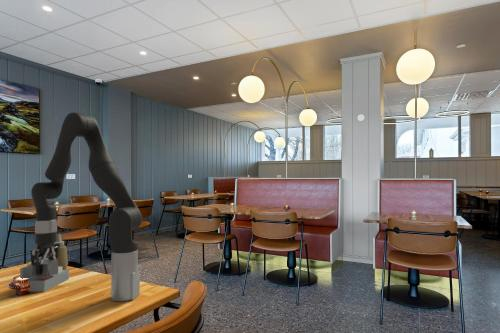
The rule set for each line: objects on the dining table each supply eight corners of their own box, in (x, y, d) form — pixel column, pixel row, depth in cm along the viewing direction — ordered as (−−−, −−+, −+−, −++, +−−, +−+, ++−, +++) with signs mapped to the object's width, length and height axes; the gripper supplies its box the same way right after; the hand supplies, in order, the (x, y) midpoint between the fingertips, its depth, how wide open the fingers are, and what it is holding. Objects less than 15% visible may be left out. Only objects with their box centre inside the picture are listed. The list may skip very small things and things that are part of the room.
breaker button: (51, 283, 129) (51, 273, 129) (46, 286, 125) (46, 276, 125) (44, 283, 129) (44, 273, 129) (38, 286, 126) (38, 276, 126)
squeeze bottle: (61, 275, 143) (61, 235, 143) (43, 275, 143) (44, 235, 144) (71, 270, 151) (72, 232, 151) (55, 270, 151) (55, 232, 152)
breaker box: (68, 279, 137) (69, 255, 138) (44, 291, 122) (44, 265, 123) (46, 278, 138) (46, 255, 138) (19, 291, 123) (19, 265, 123)
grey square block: (58, 271, 130) (58, 259, 130) (47, 276, 124) (47, 264, 124) (43, 271, 131) (43, 259, 131) (31, 276, 124) (31, 263, 124)
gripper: (42, 234, 120) (41, 278, 120) (66, 228, 135) (65, 267, 134) (23, 234, 121) (22, 277, 120) (49, 228, 135) (48, 267, 135)
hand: (45, 272), depth 127 cm, fingers closed on grey square block, 6 cm apart
